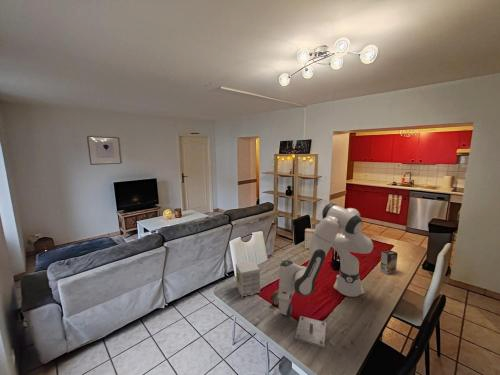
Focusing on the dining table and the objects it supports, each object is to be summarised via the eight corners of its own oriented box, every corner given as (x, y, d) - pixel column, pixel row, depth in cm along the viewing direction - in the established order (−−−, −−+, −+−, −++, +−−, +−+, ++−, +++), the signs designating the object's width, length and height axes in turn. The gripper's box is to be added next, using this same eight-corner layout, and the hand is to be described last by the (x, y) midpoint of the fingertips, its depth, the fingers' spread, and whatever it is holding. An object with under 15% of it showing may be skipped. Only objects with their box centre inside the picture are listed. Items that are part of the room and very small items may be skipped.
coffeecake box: (321, 248, 216) (321, 229, 213) (320, 251, 209) (321, 231, 206) (305, 246, 222) (306, 227, 219) (304, 249, 215) (304, 230, 213)
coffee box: (387, 275, 167) (388, 254, 165) (379, 270, 173) (381, 251, 171) (396, 272, 170) (397, 253, 167) (388, 268, 176) (390, 249, 173)
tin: (287, 295, 145) (287, 283, 144) (290, 298, 143) (290, 285, 142) (270, 305, 137) (269, 292, 135) (273, 308, 134) (273, 295, 133)
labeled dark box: (283, 309, 132) (283, 300, 132) (291, 311, 131) (291, 302, 130) (281, 314, 128) (281, 305, 127) (290, 317, 126) (290, 307, 125)
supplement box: (236, 286, 156) (235, 263, 154) (253, 282, 161) (253, 260, 158) (241, 298, 144) (241, 272, 142) (260, 293, 148) (260, 268, 146)
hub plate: (300, 317, 125) (300, 311, 125) (326, 324, 120) (326, 317, 119) (294, 339, 111) (294, 332, 110) (324, 348, 105) (324, 340, 105)
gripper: (285, 278, 138) (285, 298, 140) (276, 297, 119) (276, 321, 121) (295, 280, 135) (295, 300, 137) (288, 300, 117) (288, 324, 119)
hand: (286, 310), depth 129 cm, fingers closed on labeled dark box, 5 cm apart
